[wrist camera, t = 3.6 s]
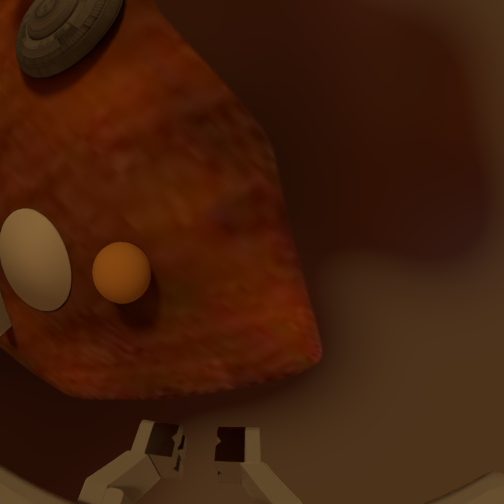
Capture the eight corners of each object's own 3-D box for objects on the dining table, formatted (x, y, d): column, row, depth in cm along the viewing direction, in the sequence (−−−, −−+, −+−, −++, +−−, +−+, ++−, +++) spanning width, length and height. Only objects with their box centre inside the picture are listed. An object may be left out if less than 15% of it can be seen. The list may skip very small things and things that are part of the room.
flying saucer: (132, 46, 21) (109, 26, 16) (23, 101, 22) (-8, 97, 17) (128, -45, 16) (112, -67, 11) (28, 9, 17) (5, -3, 12)
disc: (14, 305, 29) (13, 306, 29) (-7, 213, 25) (-8, 213, 25) (82, 314, 29) (81, 315, 29) (61, 203, 25) (60, 203, 25)
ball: (113, 287, 28) (89, 312, 23) (104, 235, 27) (76, 253, 21) (161, 288, 28) (144, 316, 23) (155, 234, 27) (133, 252, 21)
